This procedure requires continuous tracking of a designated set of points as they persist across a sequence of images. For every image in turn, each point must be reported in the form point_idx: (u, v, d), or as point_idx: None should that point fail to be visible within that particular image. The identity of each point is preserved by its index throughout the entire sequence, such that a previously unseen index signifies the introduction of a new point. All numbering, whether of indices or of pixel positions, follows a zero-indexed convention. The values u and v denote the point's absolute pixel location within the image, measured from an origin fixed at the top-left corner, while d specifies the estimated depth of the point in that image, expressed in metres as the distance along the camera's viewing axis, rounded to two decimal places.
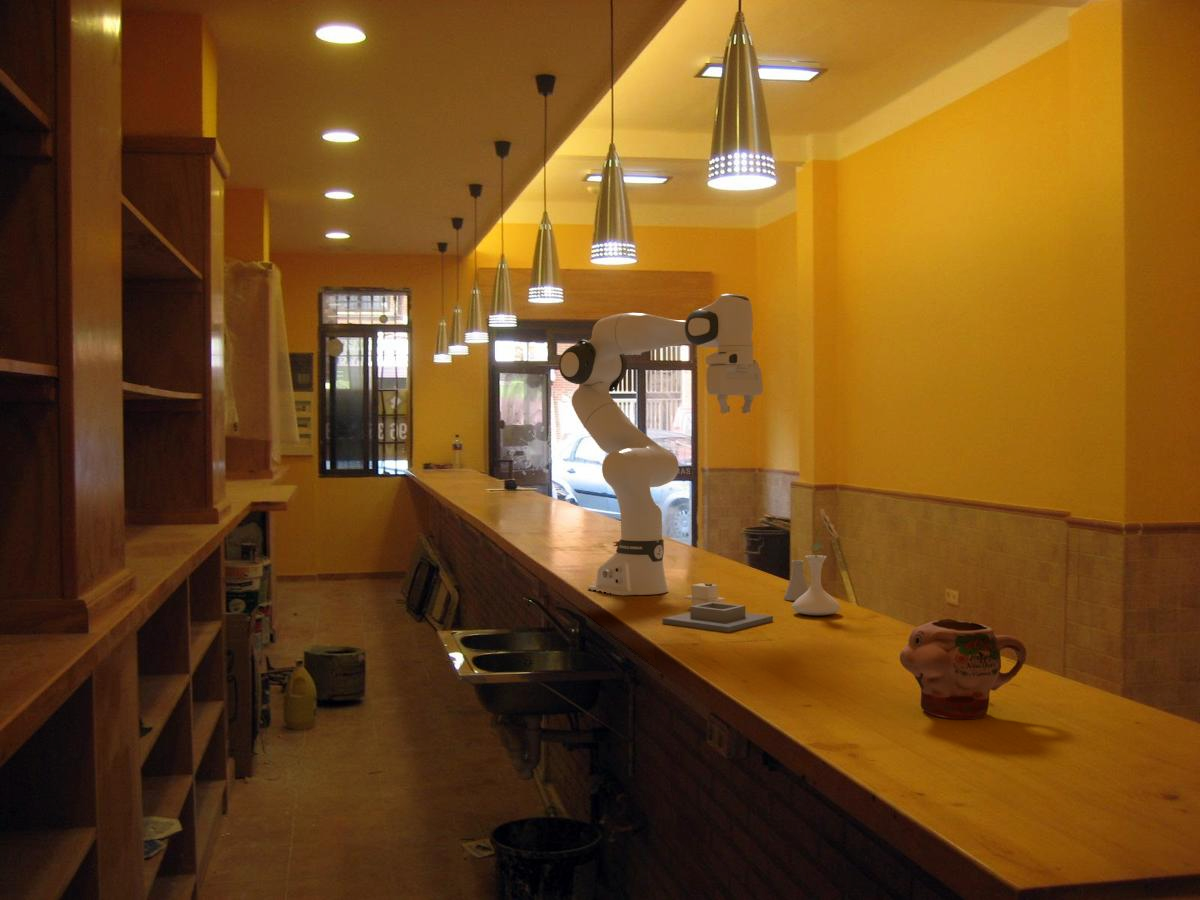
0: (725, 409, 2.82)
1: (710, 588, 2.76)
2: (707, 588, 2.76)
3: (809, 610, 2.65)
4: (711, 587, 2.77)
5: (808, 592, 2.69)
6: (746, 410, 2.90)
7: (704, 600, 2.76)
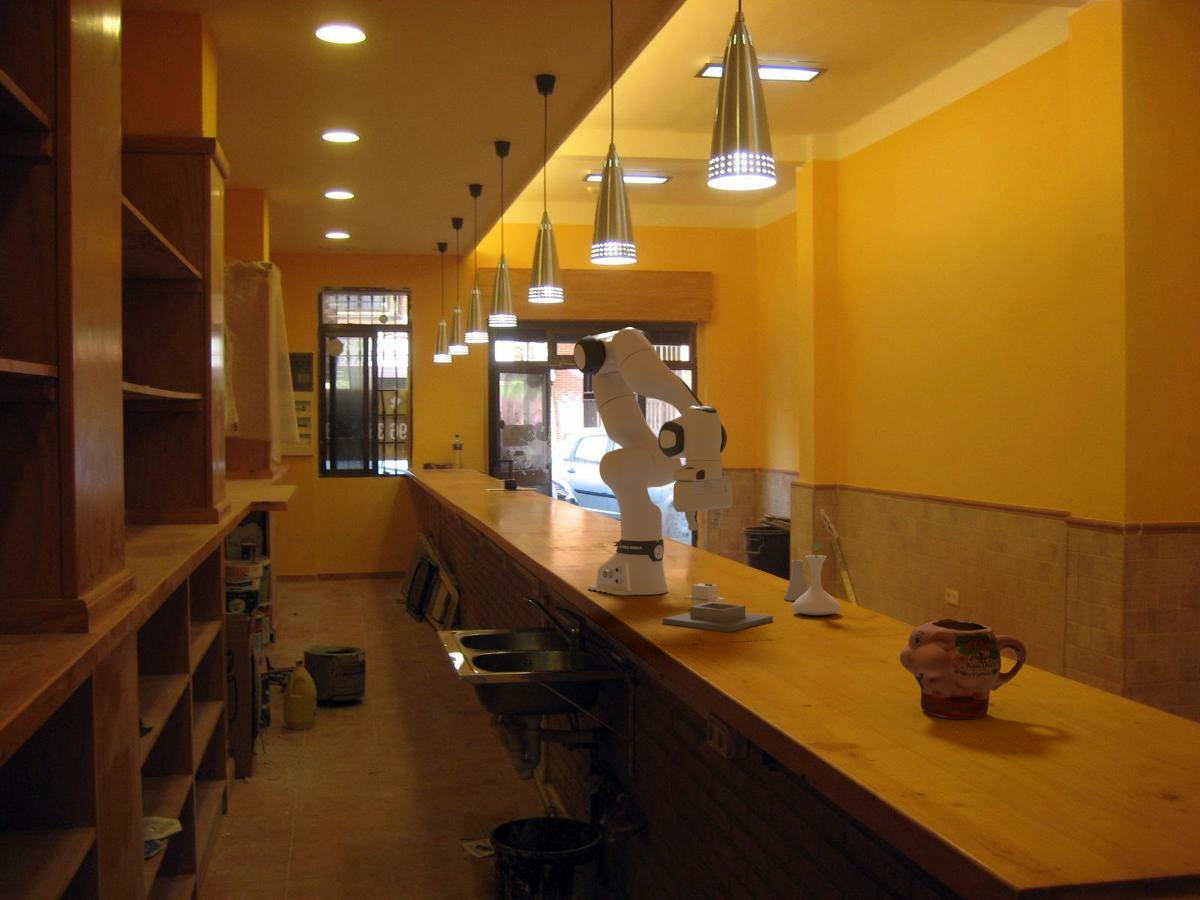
0: (693, 526, 2.74)
1: (710, 588, 2.76)
2: (707, 588, 2.76)
3: (809, 610, 2.65)
4: (711, 587, 2.77)
5: (808, 592, 2.69)
6: (715, 524, 2.81)
7: (704, 600, 2.76)
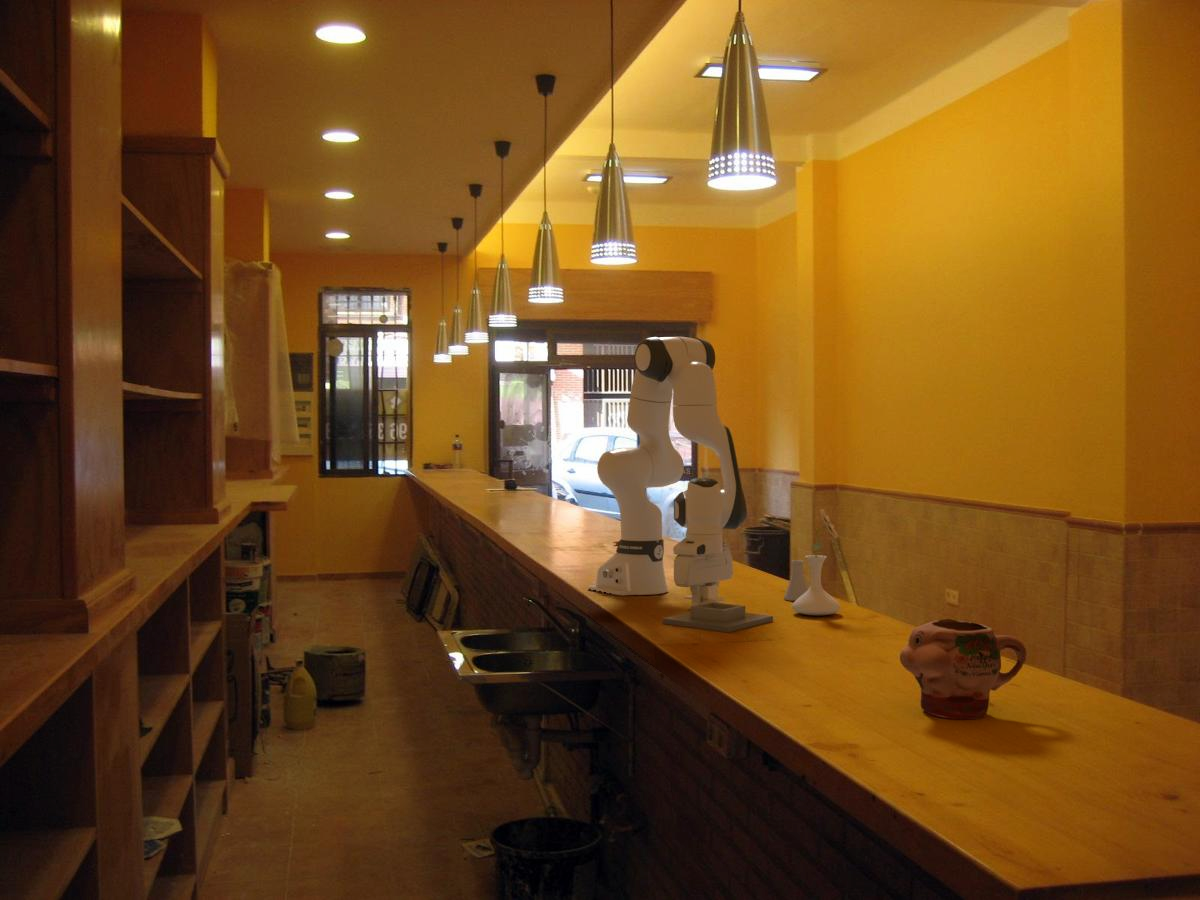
0: (698, 599, 2.76)
1: (710, 588, 2.76)
2: (707, 588, 2.76)
3: (809, 610, 2.65)
4: (711, 587, 2.77)
5: (808, 592, 2.69)
6: None
7: (704, 600, 2.76)
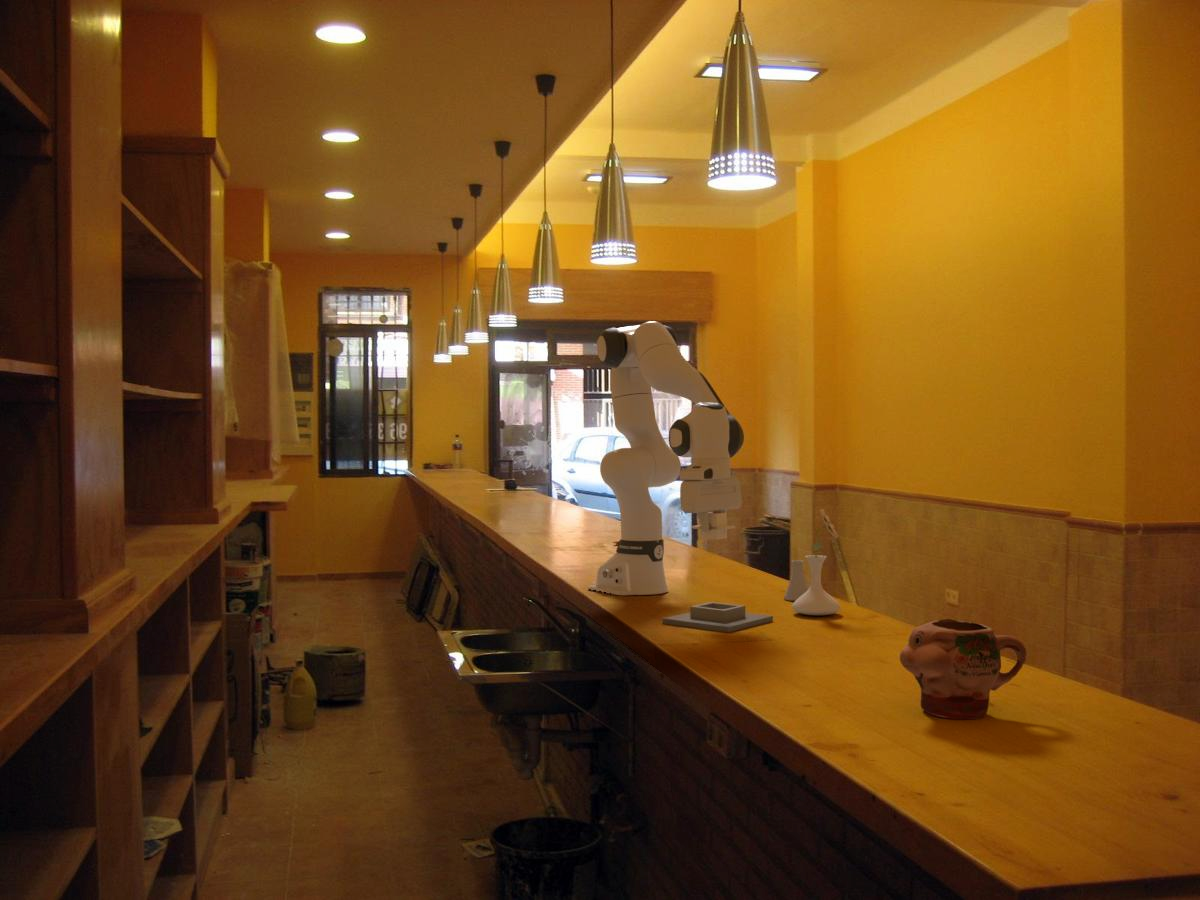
0: (706, 527, 2.64)
1: (719, 515, 2.64)
2: (716, 515, 2.64)
3: (809, 610, 2.65)
4: (720, 514, 2.65)
5: (808, 592, 2.69)
6: None
7: (713, 528, 2.64)
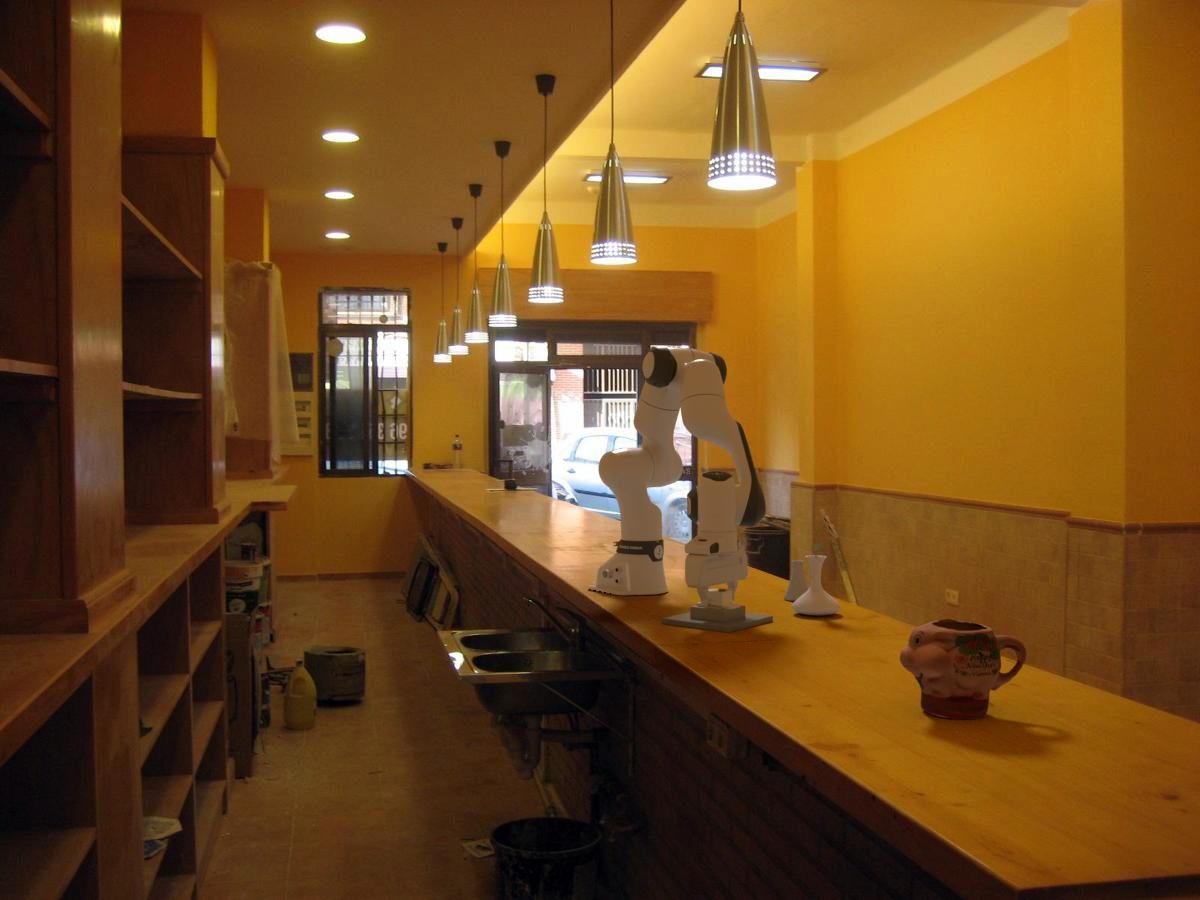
0: (706, 602, 2.56)
1: (724, 594, 2.58)
2: (721, 594, 2.57)
3: (809, 610, 2.65)
4: (725, 593, 2.58)
5: (808, 592, 2.69)
6: None
7: (718, 607, 2.58)
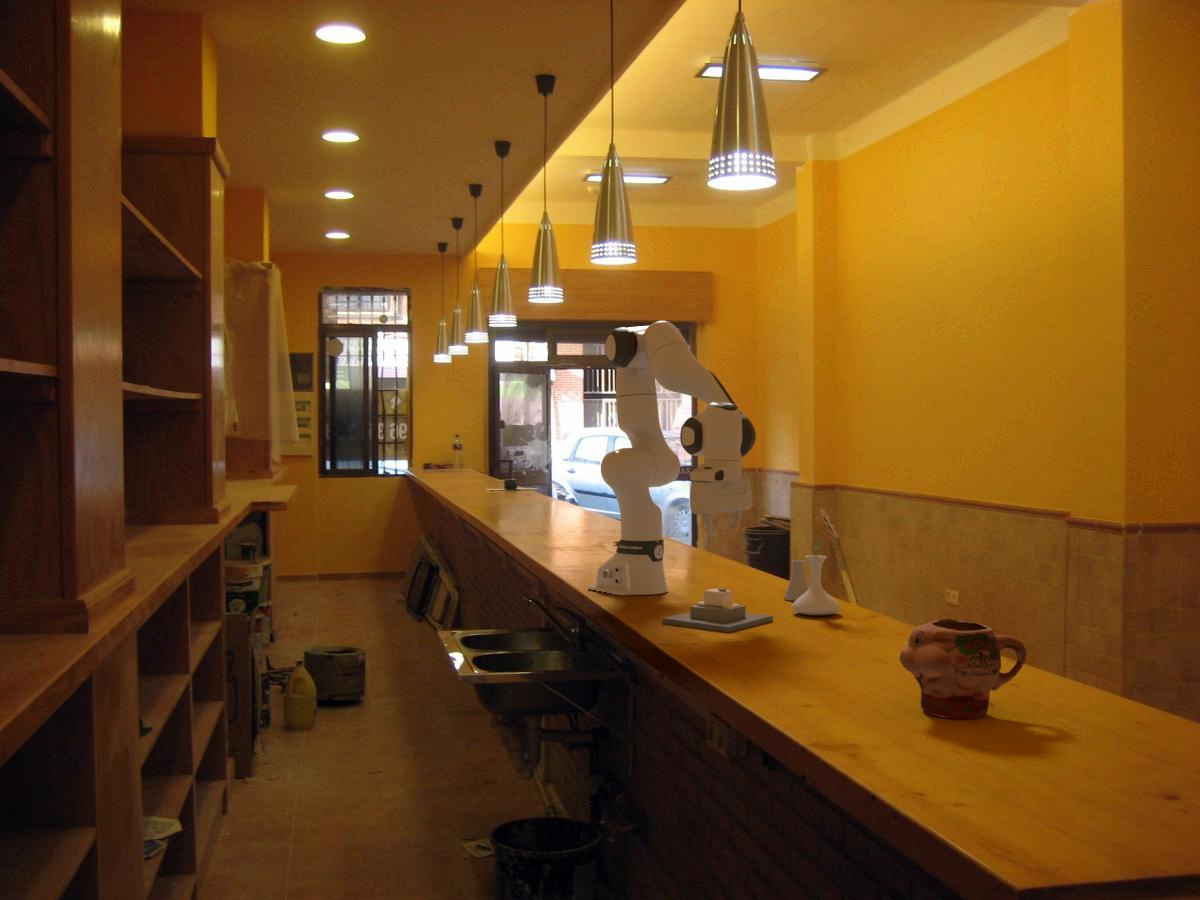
0: (710, 529, 2.61)
1: (724, 594, 2.58)
2: (721, 594, 2.57)
3: (809, 610, 2.65)
4: (725, 593, 2.58)
5: (808, 592, 2.69)
6: (733, 527, 2.68)
7: (718, 607, 2.58)
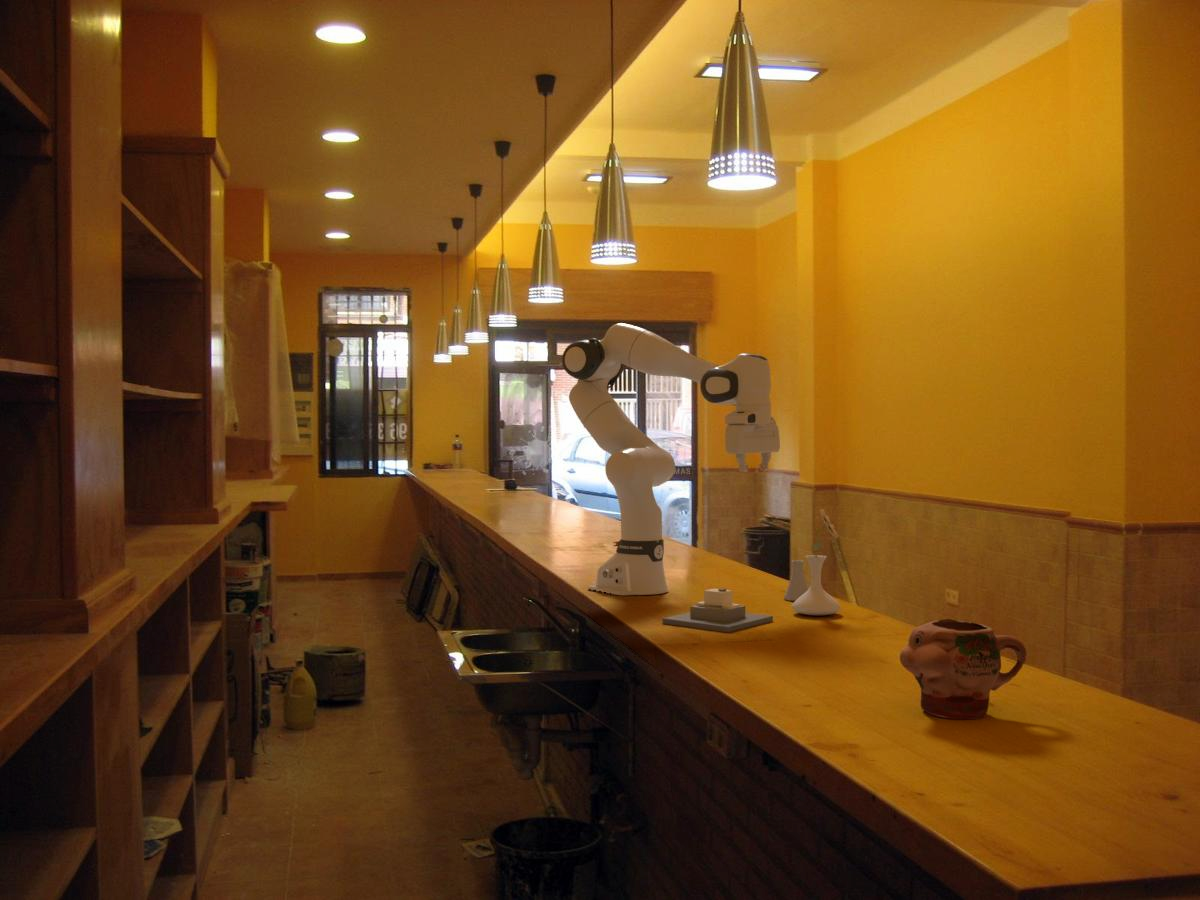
0: (743, 468, 2.86)
1: (724, 594, 2.58)
2: (721, 594, 2.57)
3: (809, 610, 2.65)
4: (725, 593, 2.58)
5: (808, 592, 2.69)
6: (764, 467, 2.94)
7: (718, 607, 2.58)
